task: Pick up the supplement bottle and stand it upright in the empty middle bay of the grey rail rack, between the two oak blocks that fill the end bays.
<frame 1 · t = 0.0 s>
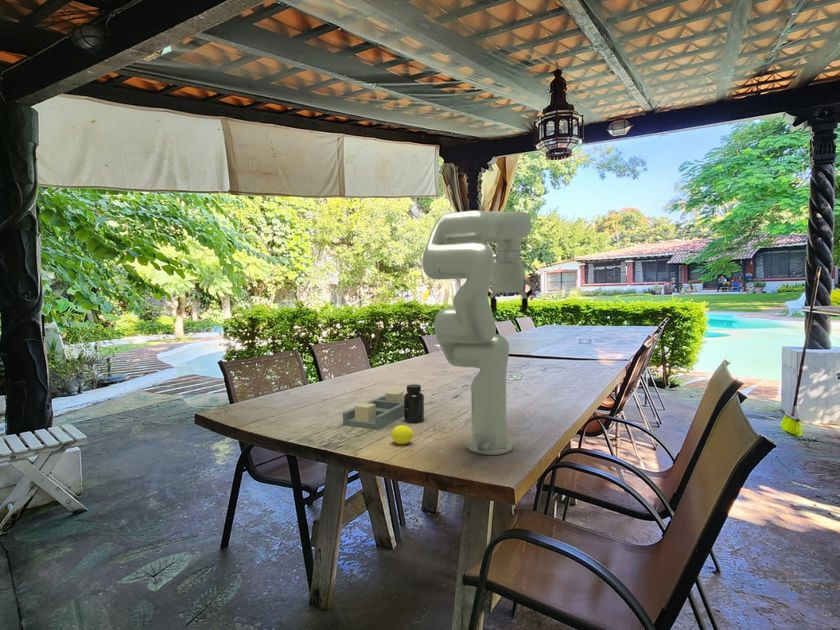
hand: (509, 311, 143), 37 cm above the table, tool pointing down, fingers open, 9 cm apart
supplement bottle: (414, 421, 151), on the table
rail rack: (381, 416, 157), on the table
lemon: (402, 444, 128), on the table
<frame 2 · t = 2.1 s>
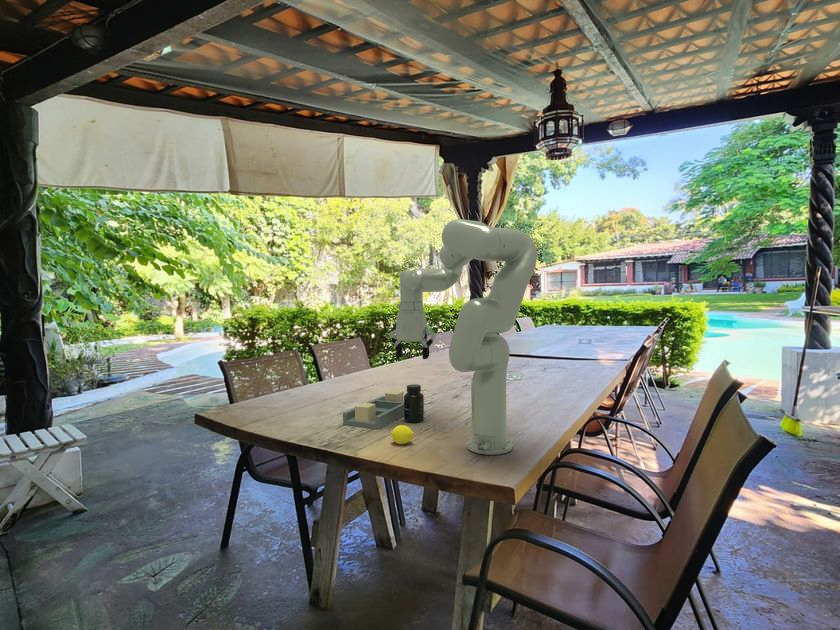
hand: (412, 358, 150), 21 cm above the table, tool pointing down, fingers open, 9 cm apart
nothing on the table moved.
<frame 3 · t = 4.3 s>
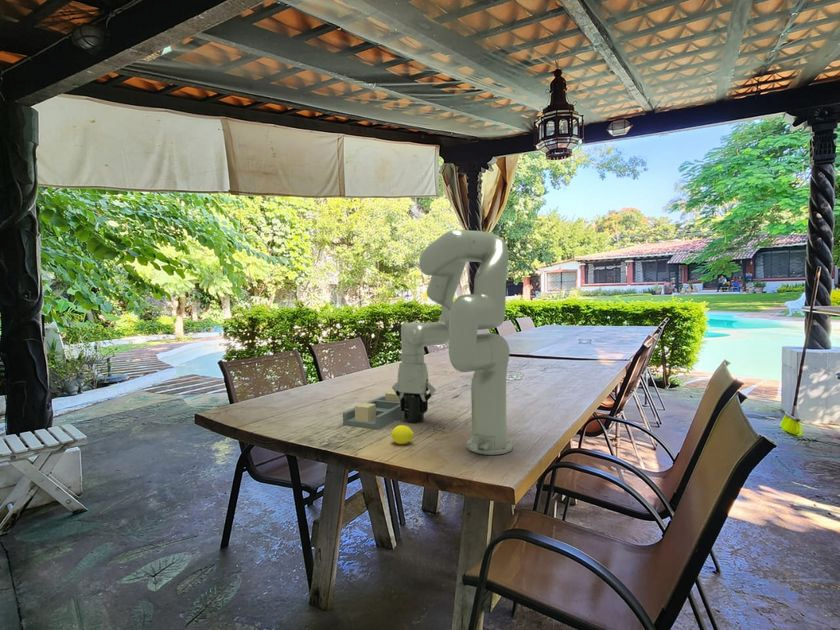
hand: (414, 410, 151), 3 cm above the table, tool pointing down, fingers closed on supplement bottle, 6 cm apart
supplement bottle: (414, 421, 151), on the table, touching gripper
everything else where it was.
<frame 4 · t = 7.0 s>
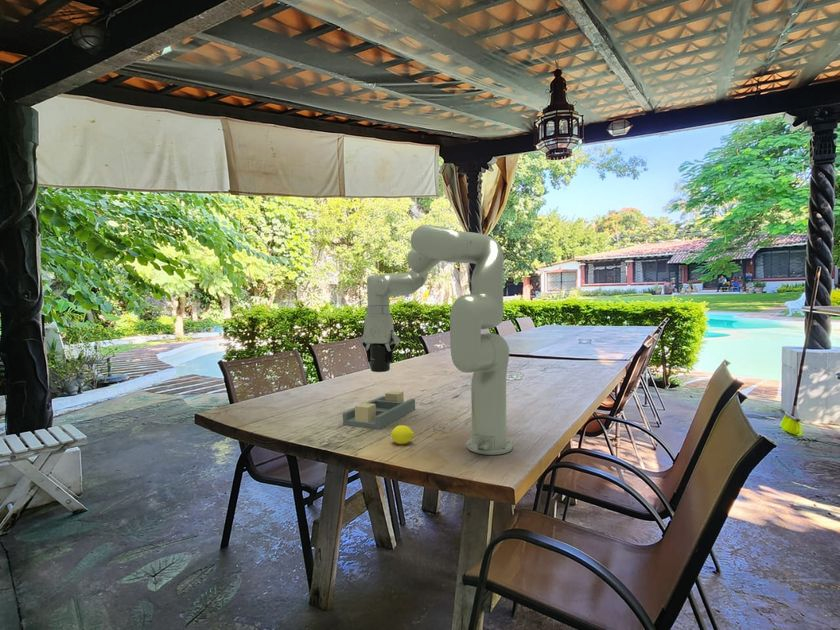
hand: (380, 361, 156), 20 cm above the table, tool pointing down, fingers closed on supplement bottle, 6 cm apart
supplement bottle: (380, 371, 156), point 16 cm above the table, touching gripper
everything else where it was.
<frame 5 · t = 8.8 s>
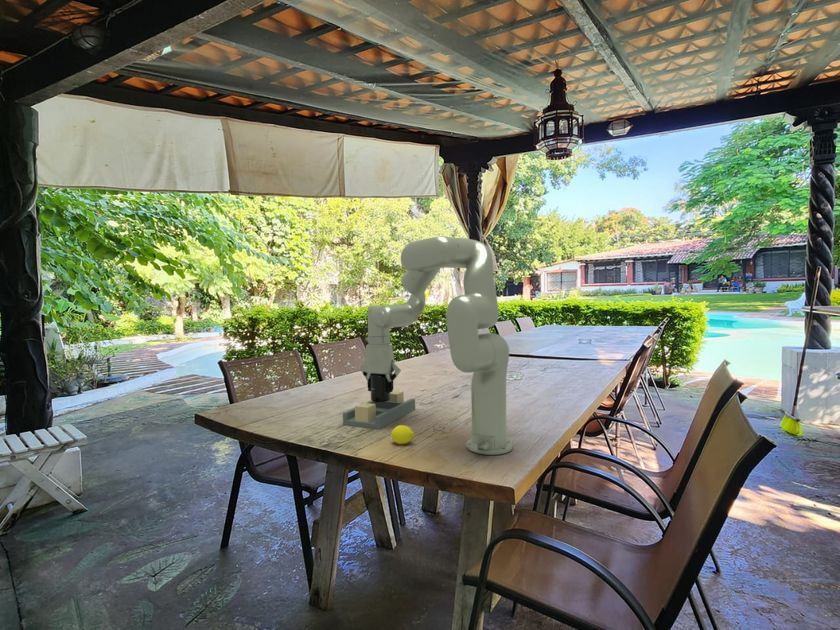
hand: (380, 390, 156), 9 cm above the table, tool pointing down, fingers closed on supplement bottle, 6 cm apart
supplement bottle: (380, 400, 156), point 6 cm above the table, touching gripper
everything else where it was.
when the fingers open (6 cm above the table, at t = 10.0 s): supplement bottle drops 1 cm, resting on rail rack.
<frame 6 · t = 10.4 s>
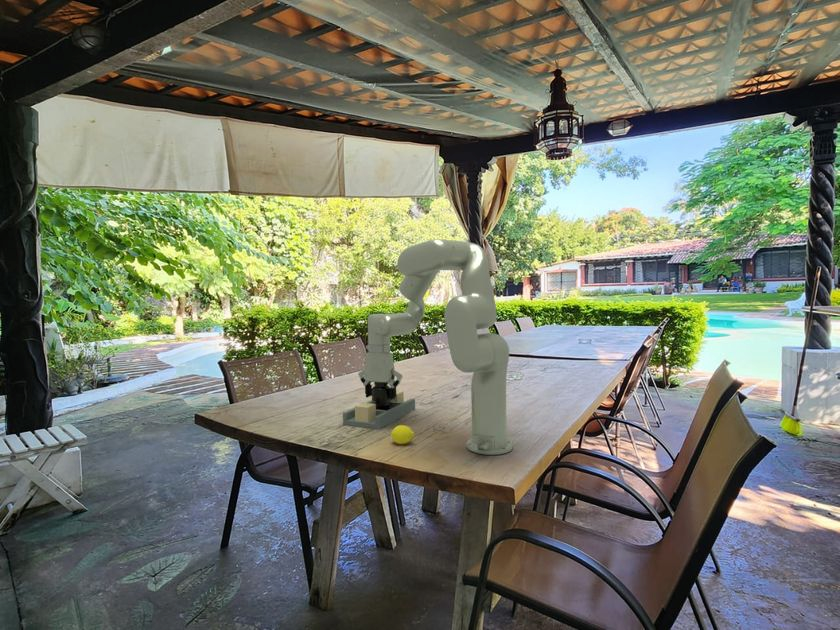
hand: (380, 397, 156), 7 cm above the table, tool pointing down, fingers open, 9 cm apart
supplement bottle: (381, 413, 156), point 1 cm above the table, touching rail rack
everything else where it was.
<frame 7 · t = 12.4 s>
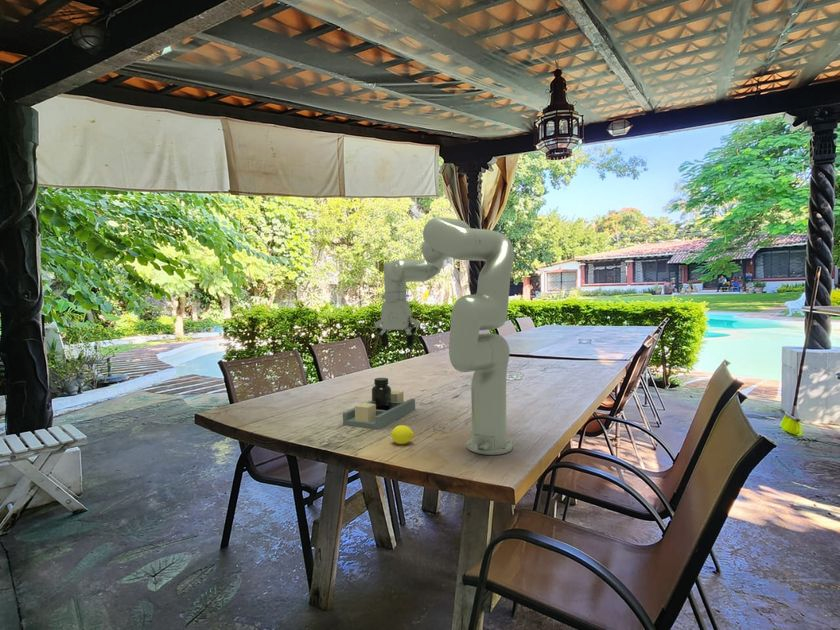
hand: (397, 346, 156), 25 cm above the table, tool pointing down, fingers open, 9 cm apart
nothing on the table moved.
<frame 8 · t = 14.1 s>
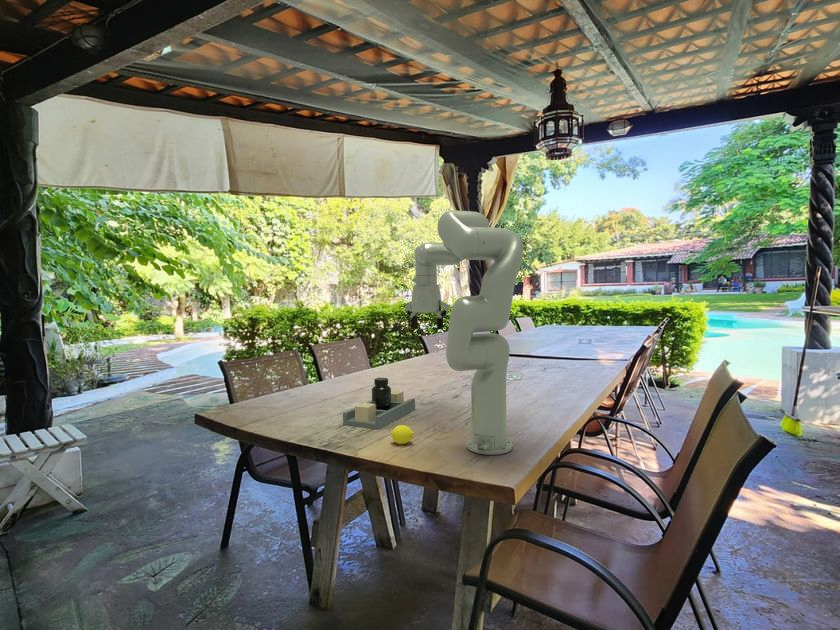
hand: (427, 329, 158), 30 cm above the table, tool pointing down, fingers open, 9 cm apart
nothing on the table moved.
at the end: supplement bottle 0.4 cm off-centre on the rail rack, point 1.3 cm above the rail rack's base; supplement bottle tilted 0°; the gripper is holding nothing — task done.
